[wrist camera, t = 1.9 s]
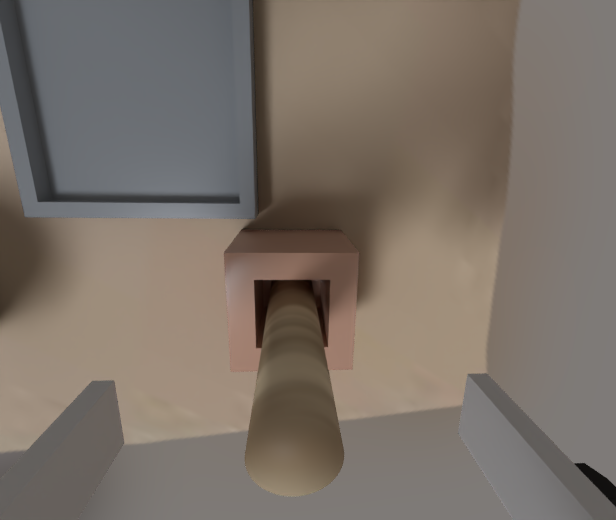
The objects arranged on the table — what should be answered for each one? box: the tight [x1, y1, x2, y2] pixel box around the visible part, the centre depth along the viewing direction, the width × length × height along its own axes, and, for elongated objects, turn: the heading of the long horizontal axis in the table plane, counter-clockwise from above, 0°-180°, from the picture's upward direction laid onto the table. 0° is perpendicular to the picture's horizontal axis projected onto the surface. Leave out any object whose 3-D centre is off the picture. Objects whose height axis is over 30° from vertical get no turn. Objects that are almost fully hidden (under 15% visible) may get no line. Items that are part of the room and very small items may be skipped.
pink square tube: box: [224, 230, 359, 372], centre depth 23 cm, size 8×8×7 cm
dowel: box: [245, 280, 344, 496], centre depth 18 cm, size 3×3×16 cm
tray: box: [0, 0, 258, 219], centre depth 20 cm, size 22×15×2 cm
